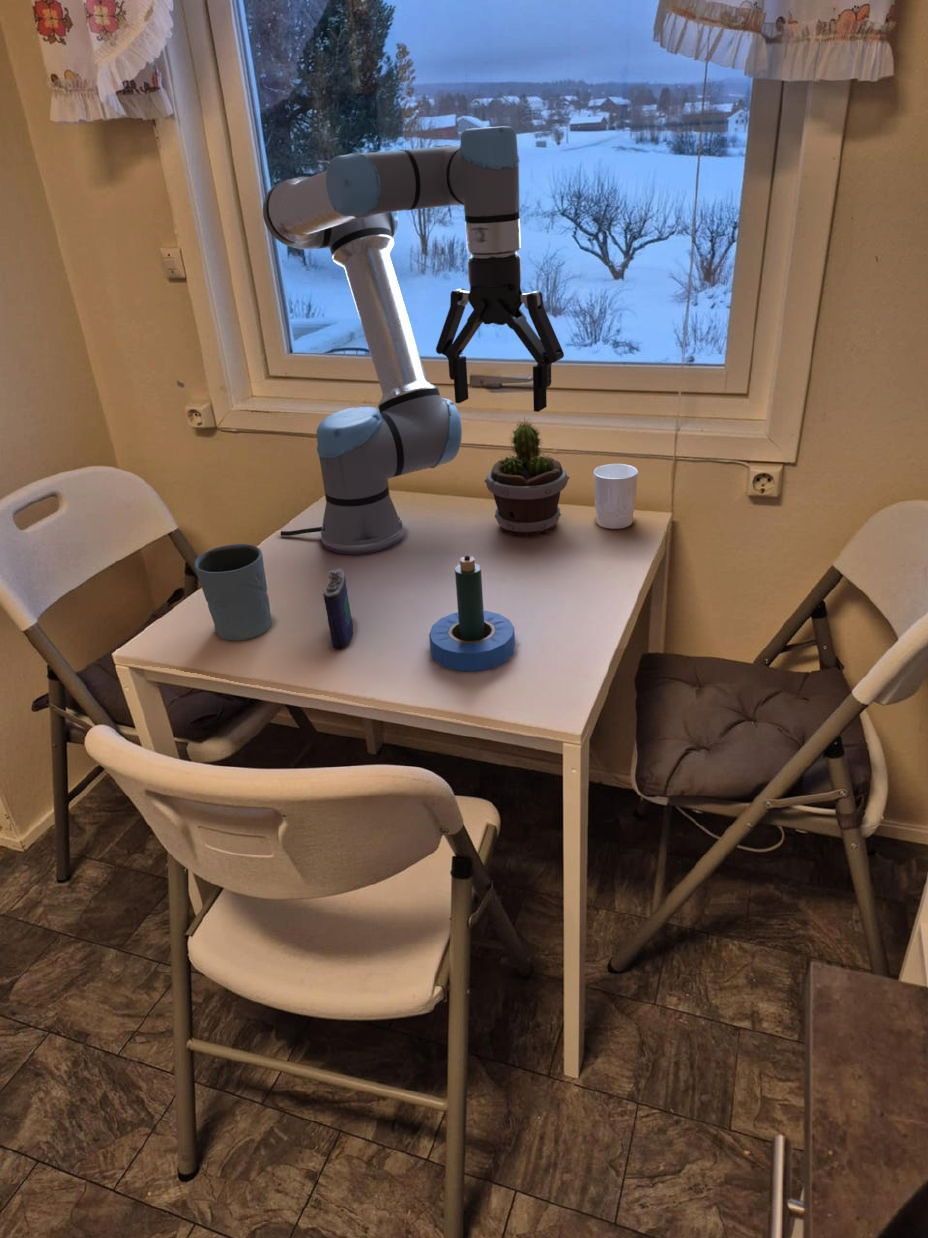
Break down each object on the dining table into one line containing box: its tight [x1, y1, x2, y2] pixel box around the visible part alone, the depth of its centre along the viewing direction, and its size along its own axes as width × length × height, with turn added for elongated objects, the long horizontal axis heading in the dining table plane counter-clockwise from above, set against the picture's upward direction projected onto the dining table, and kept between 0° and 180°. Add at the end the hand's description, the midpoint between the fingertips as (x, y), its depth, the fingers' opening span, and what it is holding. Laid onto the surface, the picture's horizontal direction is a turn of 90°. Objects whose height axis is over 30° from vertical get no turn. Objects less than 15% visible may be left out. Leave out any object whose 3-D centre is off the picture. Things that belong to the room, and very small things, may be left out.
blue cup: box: [194, 543, 272, 642], centre depth 131 cm, size 10×10×12 cm
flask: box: [322, 568, 354, 651], centre depth 127 cm, size 9×3×11 cm, turn 1°
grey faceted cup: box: [593, 463, 639, 530], centre depth 157 cm, size 8×8×10 cm
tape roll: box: [429, 610, 516, 672], centre depth 123 cm, size 12×12×3 cm
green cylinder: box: [454, 555, 485, 641], centre depth 120 cm, size 4×4×15 cm
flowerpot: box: [484, 417, 570, 537], centre depth 156 cm, size 14×15×20 cm
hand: (500, 405), depth 130 cm, fingers open, 13 cm apart
